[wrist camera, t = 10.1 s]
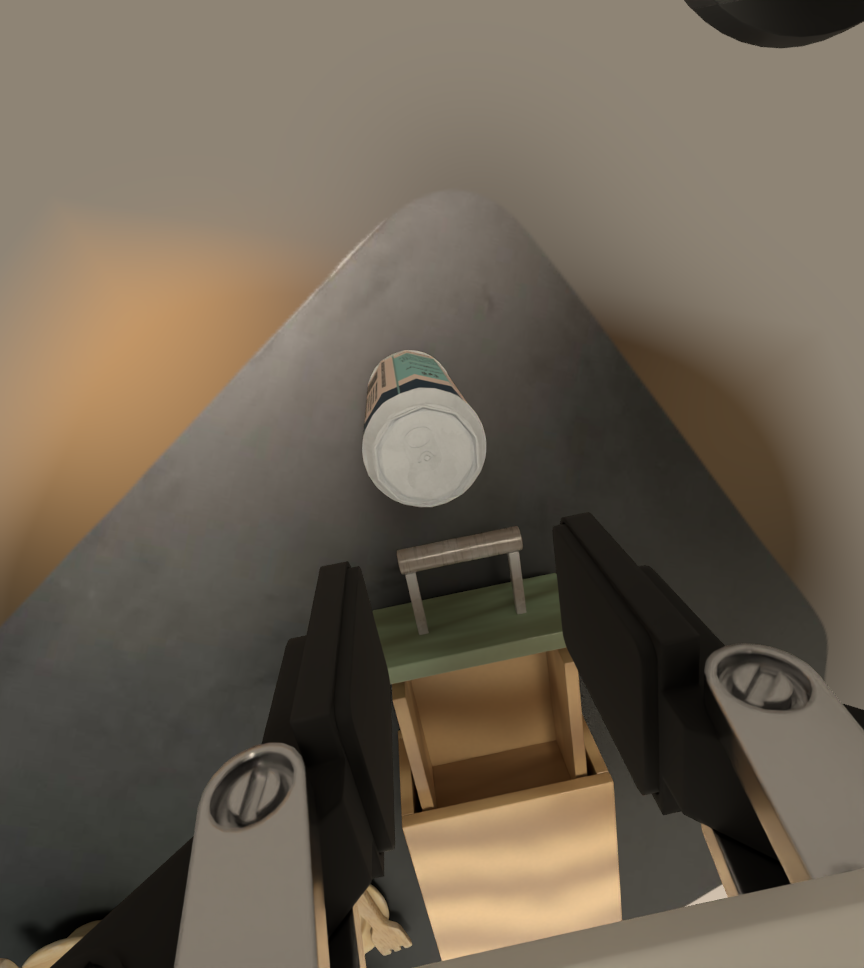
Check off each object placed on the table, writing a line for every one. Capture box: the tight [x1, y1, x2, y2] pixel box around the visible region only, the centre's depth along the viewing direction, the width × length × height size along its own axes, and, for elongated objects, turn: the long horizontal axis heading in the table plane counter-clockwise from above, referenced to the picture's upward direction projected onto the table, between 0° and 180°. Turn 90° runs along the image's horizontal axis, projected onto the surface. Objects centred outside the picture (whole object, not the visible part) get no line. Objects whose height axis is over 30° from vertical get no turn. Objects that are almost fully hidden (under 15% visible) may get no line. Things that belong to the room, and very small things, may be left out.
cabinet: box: [398, 715, 622, 961], centre depth 39 cm, size 16×14×8 cm
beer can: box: [362, 350, 486, 507], centre depth 25 cm, size 5×5×12 cm
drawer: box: [372, 526, 587, 812], centre depth 34 cm, size 20×12×6 cm, turn 10°
